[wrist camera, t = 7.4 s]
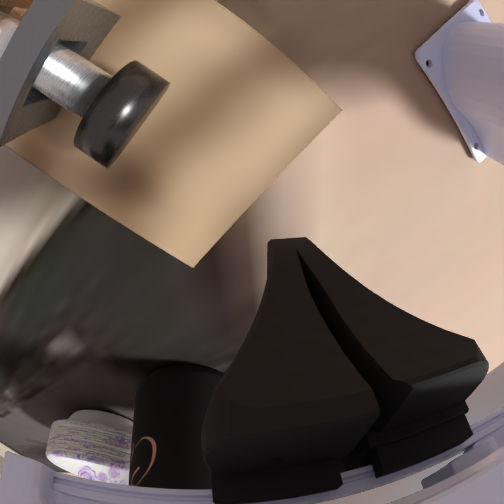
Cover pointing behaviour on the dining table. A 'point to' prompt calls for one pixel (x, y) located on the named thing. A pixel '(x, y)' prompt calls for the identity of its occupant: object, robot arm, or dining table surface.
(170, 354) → the dining table surface
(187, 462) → the coffee jar
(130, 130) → the shaft
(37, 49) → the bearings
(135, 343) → the dining table surface
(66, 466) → the paper bowls
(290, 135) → the base board
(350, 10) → the dining table surface
